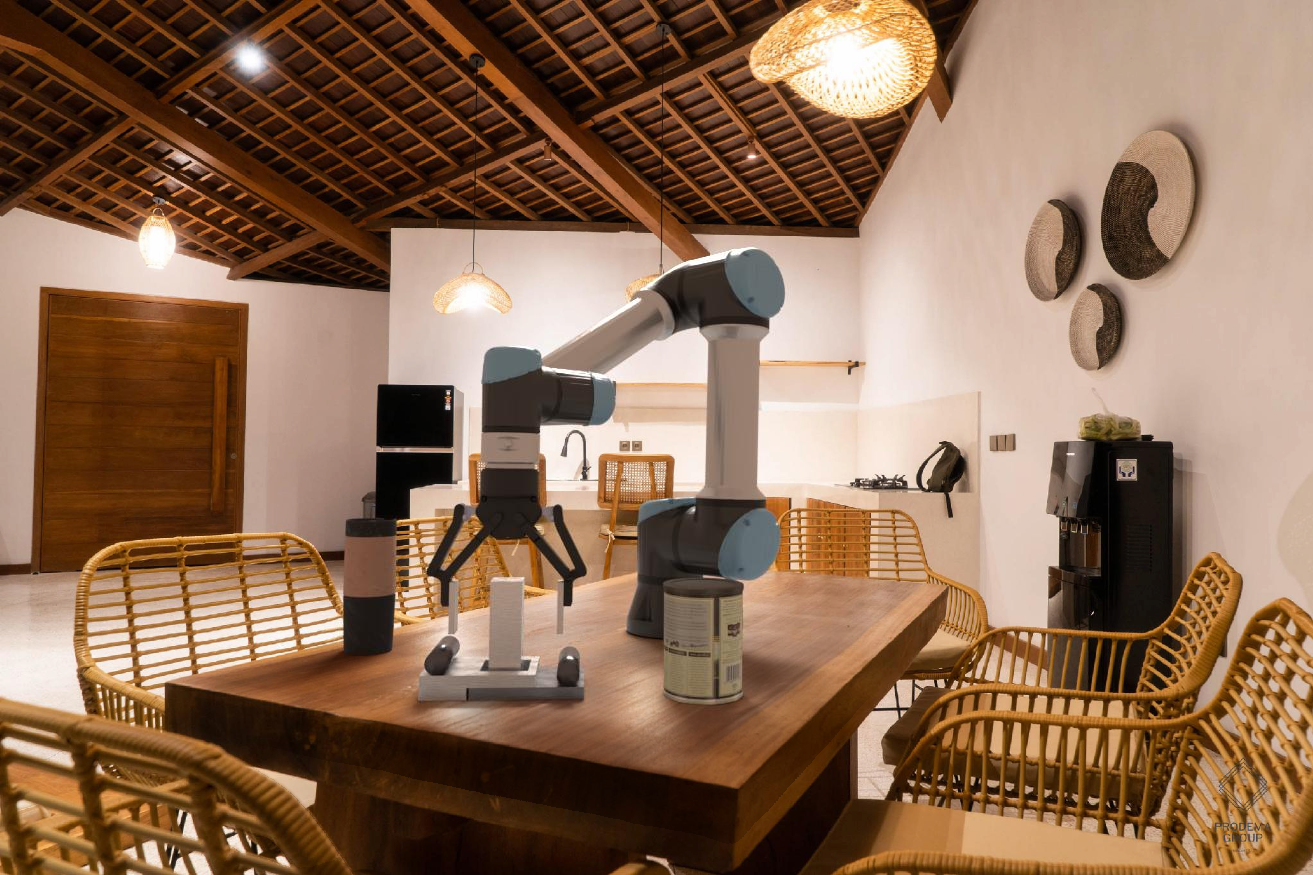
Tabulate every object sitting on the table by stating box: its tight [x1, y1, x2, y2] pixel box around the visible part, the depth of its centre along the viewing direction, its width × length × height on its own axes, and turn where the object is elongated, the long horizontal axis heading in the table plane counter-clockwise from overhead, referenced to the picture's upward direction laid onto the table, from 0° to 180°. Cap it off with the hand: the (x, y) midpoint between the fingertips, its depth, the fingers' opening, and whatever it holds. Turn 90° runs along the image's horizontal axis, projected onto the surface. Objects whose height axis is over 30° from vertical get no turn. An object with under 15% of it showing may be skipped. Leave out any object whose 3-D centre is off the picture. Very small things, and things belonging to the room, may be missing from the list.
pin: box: [488, 576, 526, 671], centre depth 106 cm, size 4×4×14 cm
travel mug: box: [342, 517, 398, 656], centre depth 127 cm, size 8×8×20 cm
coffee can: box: [662, 577, 745, 706], centre depth 105 cm, size 10×10×14 cm
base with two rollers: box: [417, 635, 585, 702], centre depth 106 cm, size 20×10×6 cm, turn 95°
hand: (506, 632), depth 106 cm, fingers open, 13 cm apart
